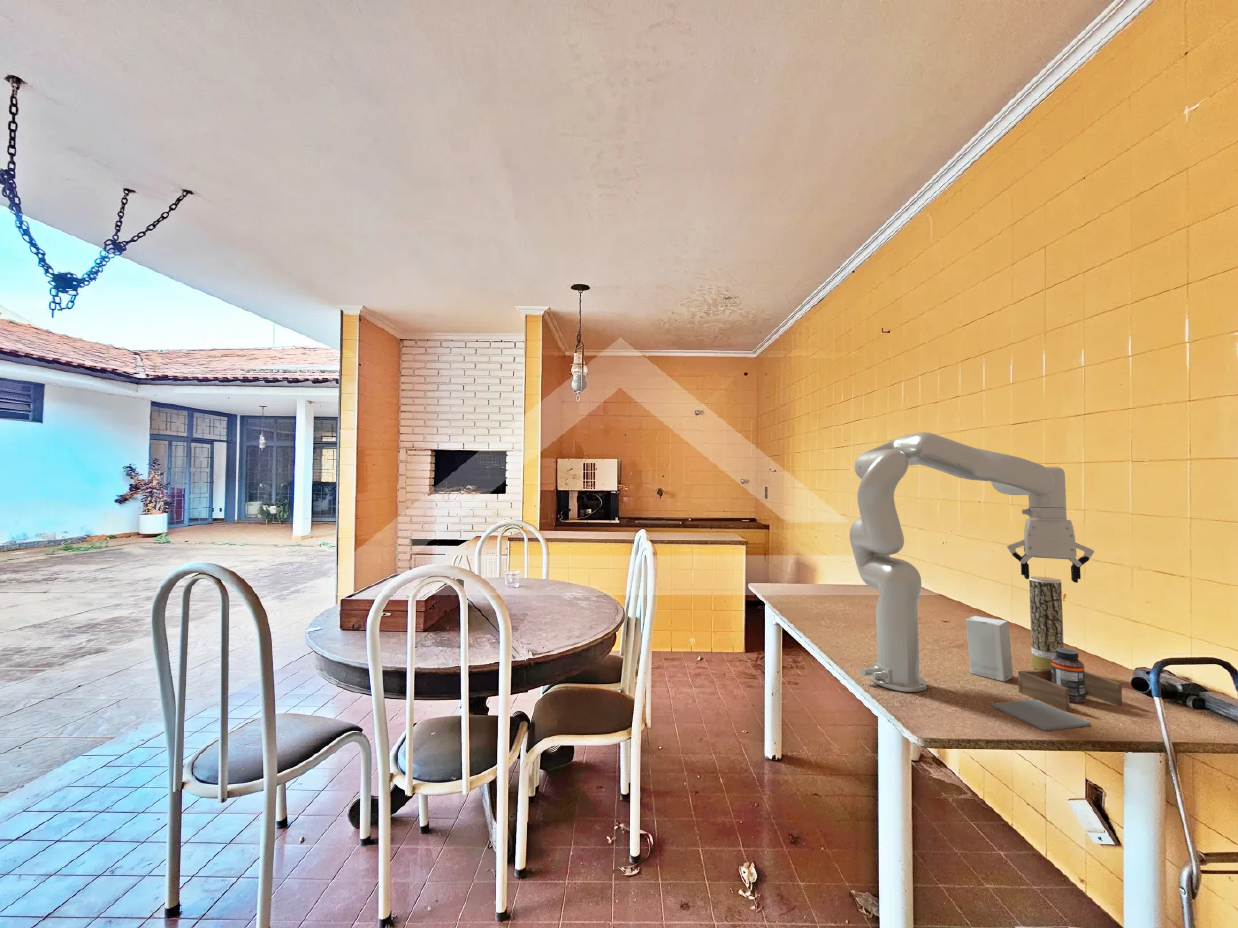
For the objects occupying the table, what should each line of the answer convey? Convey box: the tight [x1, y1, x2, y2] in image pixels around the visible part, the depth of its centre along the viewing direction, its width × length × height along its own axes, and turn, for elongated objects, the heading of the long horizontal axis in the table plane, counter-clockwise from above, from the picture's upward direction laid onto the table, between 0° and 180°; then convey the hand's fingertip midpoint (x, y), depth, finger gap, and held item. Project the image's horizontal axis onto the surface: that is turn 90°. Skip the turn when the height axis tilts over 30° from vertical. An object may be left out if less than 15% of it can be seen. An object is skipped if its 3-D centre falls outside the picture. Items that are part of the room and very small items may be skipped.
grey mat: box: [990, 699, 1092, 732], centre depth 111 cm, size 12×12×1 cm
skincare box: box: [965, 615, 1014, 682], centre depth 135 cm, size 8×6×15 cm
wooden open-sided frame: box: [1017, 668, 1123, 712], centre depth 120 cm, size 16×11×5 cm
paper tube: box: [1028, 576, 1064, 670], centre depth 139 cm, size 7×7×25 cm
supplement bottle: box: [1051, 648, 1087, 704], centre depth 121 cm, size 6×6×11 cm
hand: (1050, 579), depth 132 cm, fingers open, 9 cm apart
